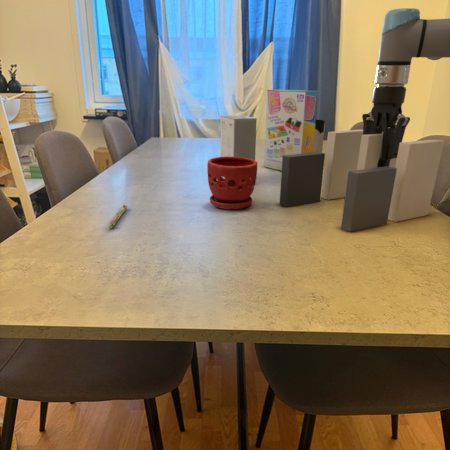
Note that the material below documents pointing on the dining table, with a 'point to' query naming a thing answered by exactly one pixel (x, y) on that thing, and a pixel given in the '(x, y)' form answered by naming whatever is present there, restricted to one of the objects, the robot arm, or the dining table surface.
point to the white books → (404, 180)
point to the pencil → (117, 216)
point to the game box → (289, 124)
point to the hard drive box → (238, 136)
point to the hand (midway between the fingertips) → (374, 183)
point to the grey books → (355, 191)
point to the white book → (371, 152)
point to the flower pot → (231, 181)
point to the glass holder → (319, 135)
